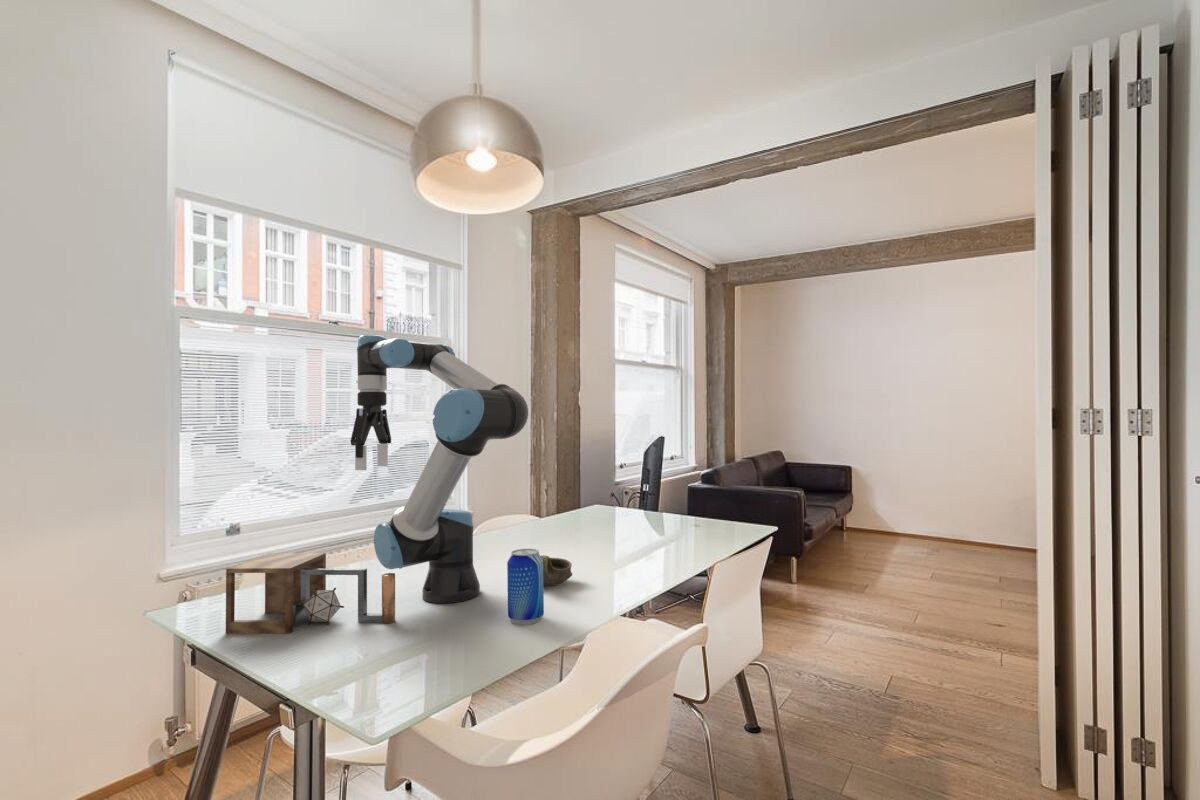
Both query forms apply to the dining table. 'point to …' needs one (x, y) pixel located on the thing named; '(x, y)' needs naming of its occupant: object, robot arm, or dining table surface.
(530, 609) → the beer can
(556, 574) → the brown rounded hollow piece
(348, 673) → the dining table surface
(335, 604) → the game die
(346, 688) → the dining table surface
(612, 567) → the dining table surface
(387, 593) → the pull yoke
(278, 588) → the shelf lane
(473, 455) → the robot arm
